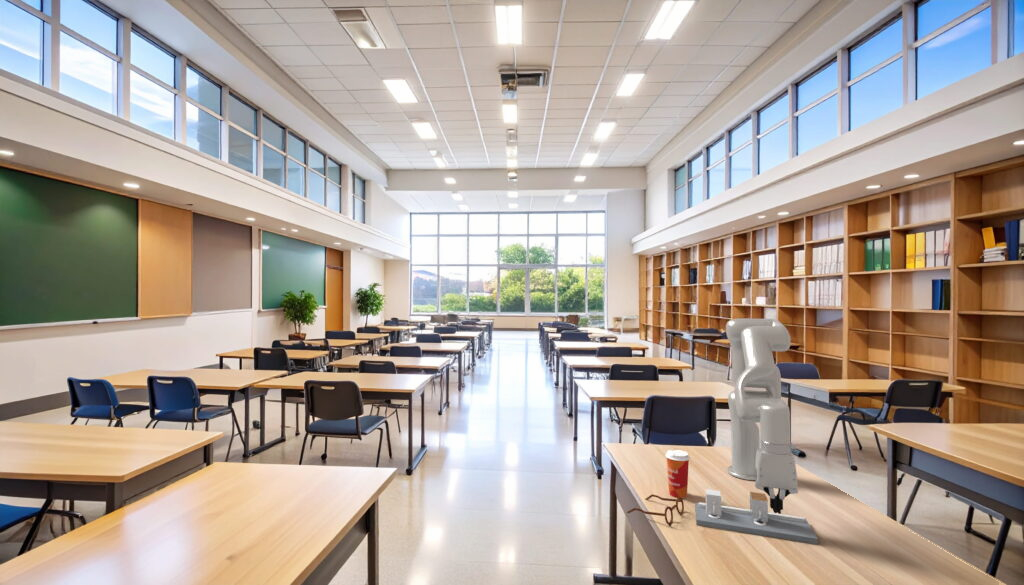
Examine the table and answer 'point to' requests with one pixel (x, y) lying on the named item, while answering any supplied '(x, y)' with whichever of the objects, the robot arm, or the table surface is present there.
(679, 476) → the paper cup
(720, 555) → the table surface
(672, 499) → the glasses
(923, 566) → the table surface
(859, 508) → the table surface
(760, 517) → the block
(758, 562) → the table surface
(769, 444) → the robot arm
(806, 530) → the divider plate
